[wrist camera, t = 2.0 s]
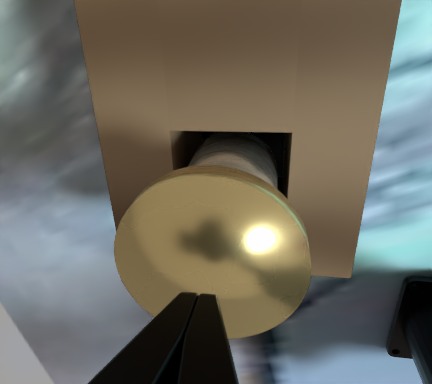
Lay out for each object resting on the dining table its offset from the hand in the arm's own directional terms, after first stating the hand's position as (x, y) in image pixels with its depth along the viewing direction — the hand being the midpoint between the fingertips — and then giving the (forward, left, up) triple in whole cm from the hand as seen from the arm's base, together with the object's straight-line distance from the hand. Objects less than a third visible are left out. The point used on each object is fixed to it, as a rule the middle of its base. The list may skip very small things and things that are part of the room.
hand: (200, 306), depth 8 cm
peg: (0, 0, -8) cm, 8 cm away
